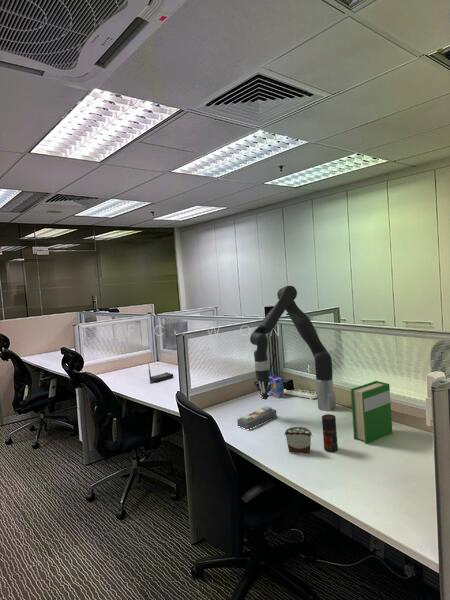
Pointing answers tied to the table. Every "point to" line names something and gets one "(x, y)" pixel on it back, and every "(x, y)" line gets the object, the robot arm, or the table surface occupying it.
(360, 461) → the table surface
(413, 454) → the table surface
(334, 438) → the deodorant
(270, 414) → the keyguard
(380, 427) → the hardback book
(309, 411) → the table surface
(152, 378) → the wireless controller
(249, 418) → the key sage
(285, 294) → the robot arm
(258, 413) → the key sand
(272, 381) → the ink cartridge box
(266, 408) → the key slate
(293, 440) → the food container
